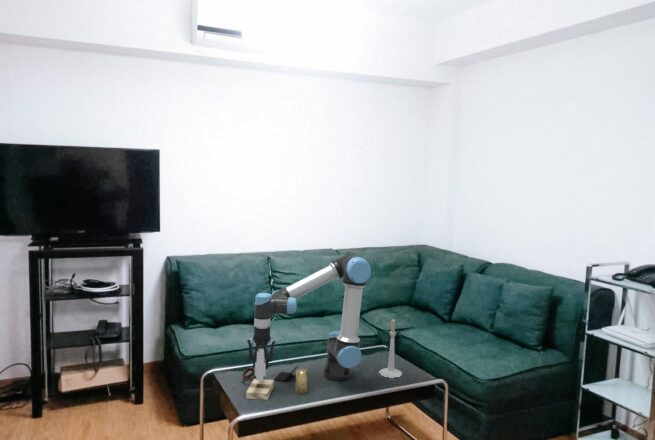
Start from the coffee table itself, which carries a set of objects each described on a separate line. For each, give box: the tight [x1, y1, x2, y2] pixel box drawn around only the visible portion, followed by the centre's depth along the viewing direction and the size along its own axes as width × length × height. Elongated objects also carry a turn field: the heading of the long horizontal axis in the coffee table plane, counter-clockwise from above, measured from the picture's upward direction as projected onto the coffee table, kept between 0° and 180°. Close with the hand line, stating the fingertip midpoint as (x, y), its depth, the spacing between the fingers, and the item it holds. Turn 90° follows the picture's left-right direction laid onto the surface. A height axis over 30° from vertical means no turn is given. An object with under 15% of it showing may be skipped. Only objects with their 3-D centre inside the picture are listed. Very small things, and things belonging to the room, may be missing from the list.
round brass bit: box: [295, 368, 309, 395], centre depth 241 cm, size 6×6×10 cm
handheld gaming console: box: [273, 365, 298, 383], centre depth 256 cm, size 12×7×10 cm
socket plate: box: [245, 378, 275, 401], centre depth 238 cm, size 10×16×3 cm, turn 175°
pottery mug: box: [241, 366, 256, 382], centre depth 252 cm, size 12×10×8 cm
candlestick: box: [378, 318, 403, 378], centre depth 265 cm, size 13×13×30 cm
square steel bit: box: [255, 348, 266, 381], centre depth 237 cm, size 3×3×14 cm
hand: (260, 374), depth 238 cm, fingers closed on square steel bit, 3 cm apart
